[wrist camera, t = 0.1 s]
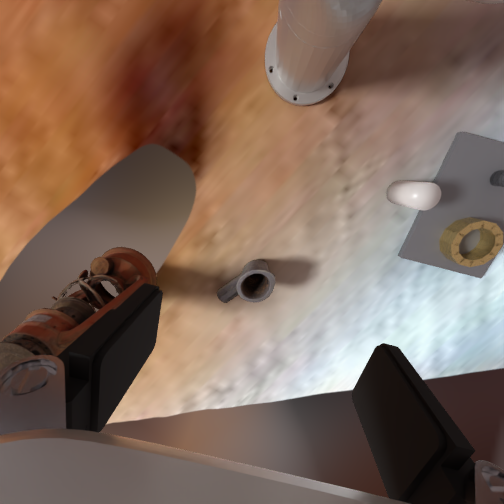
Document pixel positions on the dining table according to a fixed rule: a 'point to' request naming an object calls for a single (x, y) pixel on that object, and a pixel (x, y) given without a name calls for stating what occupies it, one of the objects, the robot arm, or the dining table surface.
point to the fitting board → (460, 202)
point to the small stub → (497, 178)
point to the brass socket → (485, 248)
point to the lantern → (78, 306)
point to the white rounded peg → (414, 194)
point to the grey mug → (250, 283)
